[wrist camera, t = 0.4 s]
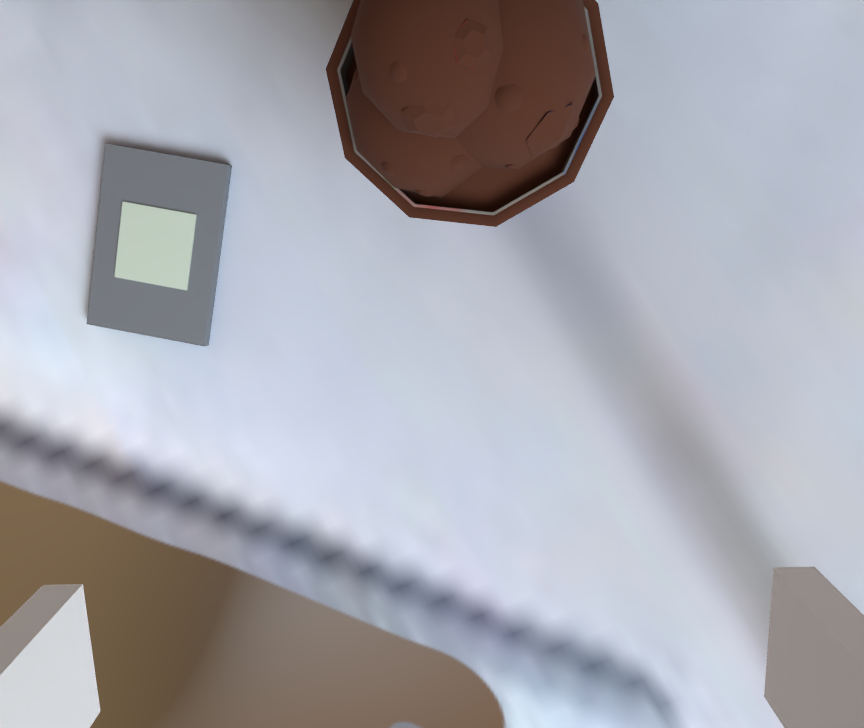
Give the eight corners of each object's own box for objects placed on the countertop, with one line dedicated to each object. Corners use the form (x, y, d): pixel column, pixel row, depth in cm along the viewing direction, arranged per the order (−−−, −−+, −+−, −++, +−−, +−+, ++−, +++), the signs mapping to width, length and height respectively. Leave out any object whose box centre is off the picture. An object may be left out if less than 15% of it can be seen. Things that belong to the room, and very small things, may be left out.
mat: (111, 144, 41) (104, 143, 40) (231, 165, 40) (227, 164, 40) (92, 322, 42) (85, 324, 42) (208, 345, 42) (203, 346, 41)
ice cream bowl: (396, 252, 40) (336, 254, 26) (351, 34, 39) (259, -99, 24) (599, 210, 39) (660, 186, 24) (560, -18, 38) (598, -190, 23)
